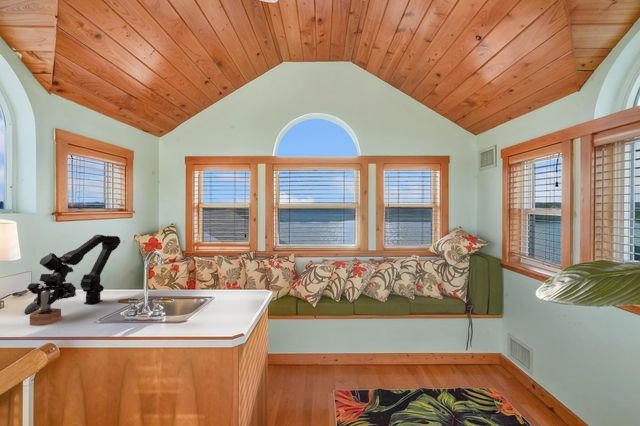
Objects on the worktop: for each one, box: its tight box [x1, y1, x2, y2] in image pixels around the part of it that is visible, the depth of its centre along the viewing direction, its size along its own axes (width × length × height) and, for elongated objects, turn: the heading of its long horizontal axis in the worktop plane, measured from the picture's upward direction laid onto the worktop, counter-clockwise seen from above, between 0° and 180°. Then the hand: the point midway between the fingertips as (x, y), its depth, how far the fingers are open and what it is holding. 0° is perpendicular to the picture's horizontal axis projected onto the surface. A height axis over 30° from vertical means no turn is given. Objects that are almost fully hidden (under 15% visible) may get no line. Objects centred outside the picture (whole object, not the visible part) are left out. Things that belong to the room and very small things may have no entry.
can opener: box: [51, 290, 77, 299], centre depth 189 cm, size 18×7×6 cm, turn 161°
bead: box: [29, 307, 62, 326], centre depth 155 cm, size 11×11×4 cm
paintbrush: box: [23, 297, 41, 314], centre depth 172 cm, size 20×5×5 cm, turn 24°
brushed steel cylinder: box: [40, 290, 52, 314], centre depth 155 cm, size 4×4×14 cm
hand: (43, 304), depth 153 cm, fingers open, 5 cm apart
